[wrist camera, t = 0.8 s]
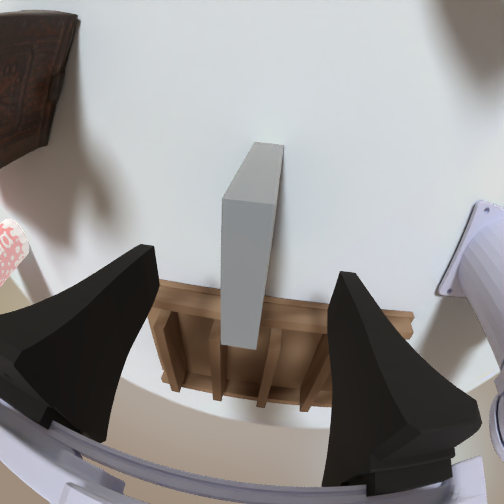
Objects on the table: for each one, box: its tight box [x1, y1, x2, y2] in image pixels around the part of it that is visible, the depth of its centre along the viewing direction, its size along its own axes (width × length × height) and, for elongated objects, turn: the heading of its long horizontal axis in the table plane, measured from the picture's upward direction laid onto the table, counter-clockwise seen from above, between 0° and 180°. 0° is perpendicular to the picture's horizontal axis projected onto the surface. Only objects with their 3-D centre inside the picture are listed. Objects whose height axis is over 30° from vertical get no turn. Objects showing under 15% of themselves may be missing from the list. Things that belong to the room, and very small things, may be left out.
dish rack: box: [148, 279, 414, 412], centre depth 23 cm, size 22×13×4 cm, turn 86°
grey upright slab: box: [221, 142, 284, 350], centre depth 14 cm, size 2×7×8 cm, turn 176°
